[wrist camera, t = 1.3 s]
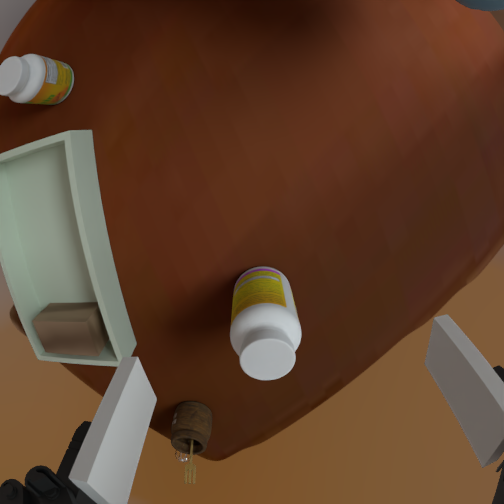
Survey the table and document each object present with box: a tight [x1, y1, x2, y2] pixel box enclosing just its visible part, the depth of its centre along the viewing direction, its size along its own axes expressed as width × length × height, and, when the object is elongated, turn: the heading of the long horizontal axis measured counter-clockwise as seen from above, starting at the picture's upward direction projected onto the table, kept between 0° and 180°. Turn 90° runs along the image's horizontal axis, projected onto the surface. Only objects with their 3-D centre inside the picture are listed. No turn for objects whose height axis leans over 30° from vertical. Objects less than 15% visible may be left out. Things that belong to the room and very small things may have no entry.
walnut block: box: [32, 302, 109, 356], centre depth 36 cm, size 5×9×5 cm, turn 95°
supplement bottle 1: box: [0, 54, 74, 105], centre depth 24 cm, size 5×5×10 cm
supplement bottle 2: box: [230, 267, 301, 380], centre depth 32 cm, size 7×7×13 cm
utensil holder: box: [171, 401, 212, 484], centre depth 39 cm, size 6×6×12 cm
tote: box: [0, 130, 137, 366], centre depth 33 cm, size 28×15×5 cm, turn 5°
